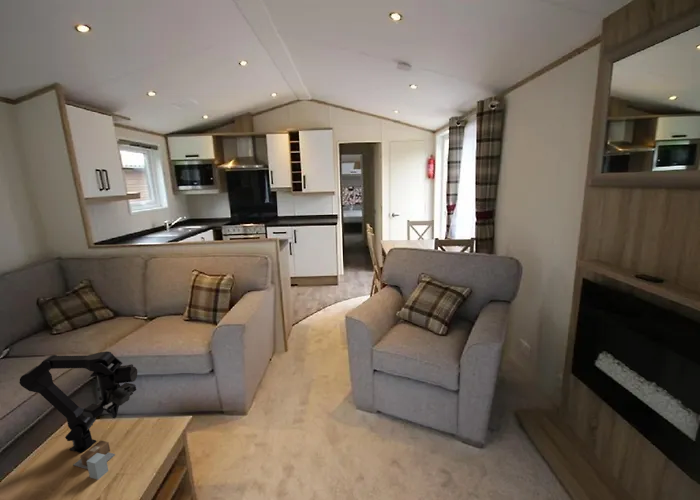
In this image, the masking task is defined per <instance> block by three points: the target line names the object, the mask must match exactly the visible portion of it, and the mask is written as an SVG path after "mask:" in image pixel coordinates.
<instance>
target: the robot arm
mask: <svg viewBox="0 0 700 500" xmlns="http://www.w3.org/2000/svg"><path fill="white" fill-rule="evenodd" d="M122 364H123V362H122V361H121V360H120V359H118V358H117V357H116V356H115V355H114V353H112V352H111V351H101V352H95V353H92V354H89V355H57V354H51V355H49V356H47V357H46V358H45V359H43V360H42V361H41V362H40V364H38V365H36V366H34V367H32V368H31V369H29V370H28V371H27V372H25V373H24V374H23V375H21V376H20V378H19V381H18V384H19V385H20V387H23V388H24V389H25V390H27V391H28V392H32V393H37V394H39V395H40V396H42V397H43V398H44V399H45V400H46V401H47V402H48V403H50V404H51V405H52V406H53V408H55V409H56V410H57V411H58V412H59V413H60V414H61V415H63V417H65V418H66V422H67V427H68V429H69V430H70V431H69V432H68V433H67V434H66V436H65V437H64V438H65V439H66V441H67V442H71V441H72V446H71V447H69V451H72V452H74V453H79V454H83V453H84V452H86V451H87V450H88V449H90V448H91V447H92V445H93V446H94V445H95V444H96V443H97V440H96V439H93V437H92V433H91V431H90V429H91V427H92V426H93V425H94V423H95V422H96V420H97V417H98V416H100V415H102V414H103V412H104V411H105V412H106V413H107V414H108V415H109V416H110V417H111V418H112V419H116V418H117V417H118V411H119V407H120V406H123V404H125V403H126V402H128V401H130V398H131V396H132V395H133V394H134V392H135V391H137V386H136V384H134V382H135V381H136V380H137V377H138V369H137V367H135V366H134V364H126V365H122ZM111 365H112V366H111ZM110 366H111V367H110ZM53 369H54V370H56V369H60V370H61V369H84V370H85V369H86V370H88V371H90V372H92V373H91V374H90V375H89V376H90V377H91V378H92V377H94V378H95V377H96V378H97V383H98V387H97V388H96V389H97V391H99V394H100V396H99V397H98V400H99V401H100V402H98V403H97V404H96V403H91V404H90V405H88V406H87V407H85V408H84V407H80V406H78V405H77V403H75V401H73V400H72V398H70V397H69V396H68V395H67V394H66V393H65V392H64V391H63V390H61V389H60V388H59V387H58V386H57V385H56V384H55V382H54V380H53V374H52V373H51V372H50V371H51V370H53Z"/></svg>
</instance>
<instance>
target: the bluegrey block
mask: <svg viewBox="0 0 700 500" xmlns="http://www.w3.org/2000/svg"><path fill="white" fill-rule="evenodd" d="M86 462H87V467H88V469H87V470H88V475H89V478H90V479H94V480H96V481H97V480H100V479H101V478H102V477H103V476H105V475H106V474H107V473H108V472H109V466H108V461H107V460H106V455H104V454H100V453H96V454H95V455H94V456H92V457H91V458H90V459H89V460H87V461H86Z"/></svg>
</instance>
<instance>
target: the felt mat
mask: <svg viewBox="0 0 700 500" xmlns="http://www.w3.org/2000/svg"><path fill="white" fill-rule="evenodd" d="M115 456H116V454H115V453H112V452H110V451H109V452H108V453H107V454H106V460H107V462H109V461H110V460H111V459H113V457H115ZM73 466H74V467H77V468H81V469H85V470H88V467H87V466H85V465H82V461H81V458H79V459H78V460H77V461H76V462H75V463H73Z"/></svg>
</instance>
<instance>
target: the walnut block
mask: <svg viewBox="0 0 700 500" xmlns="http://www.w3.org/2000/svg"><path fill="white" fill-rule="evenodd" d="M110 451H111V448H110V442H109V441H104V440H99V441H98V442H96V443H94V444H93V446H90V447H89V448H88V449H86V450H85V451H84V452H83V453H81V455H80V459H81V461H82V465H85V466H87V462H86V461H87V460H89V459H90V458H91V457H92V456H94V455H95V454H96V453H100V454H104V455H106V454H107V453H108V452H109V453H110Z"/></svg>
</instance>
